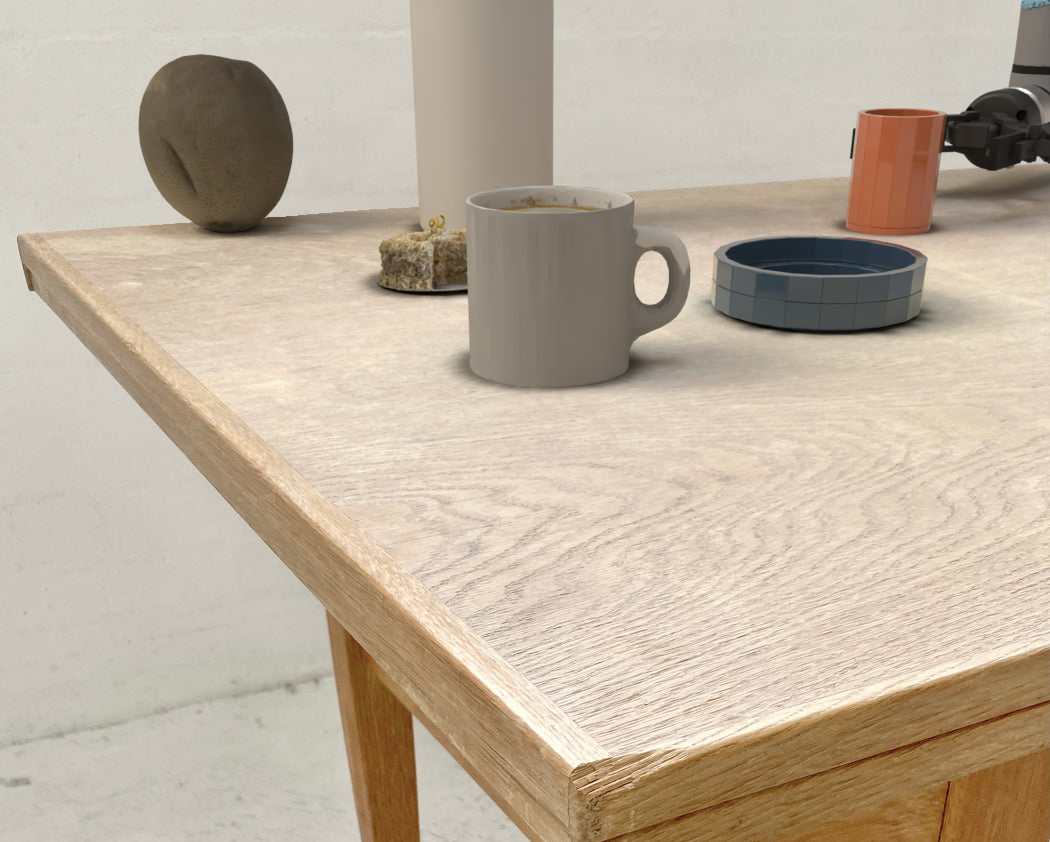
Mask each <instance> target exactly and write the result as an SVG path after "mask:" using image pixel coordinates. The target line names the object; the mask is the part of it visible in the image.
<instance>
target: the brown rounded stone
mask: <svg viewBox="0 0 1050 842" xmlns="http://www.w3.org/2000/svg"><path fill="white" fill-rule="evenodd" d="M293 134H294V133H293V127H292V123H291V119H290V115H289V111H288V108H287V105H286V102H285V101H284V99H283V96H282V94H281V93H280V91H279V90H278V88H277V86H276V85H275V83H274V82H273V81H272V80H271V78H270V77H269V76H268V75H267V74H266V73H265V72H264V71H263V70H262V69H261V68H260V67H259V66H257V65H256V64H254V63H253V62H251V61H249V60H244V59H243V60H242V59H234V58H229V57H225V56H221V55H220V56H219V55H213V54H204V53H198V54H189V55H182V56H179V57H177V58H175V59H173V60H171V61H169V62H167V63H165V64H164V65H163V66H161V67H160V68H158V70H157V71H156V72H155V73H154V74H153V76H152V77H151V78H150V80H149V82H148V84H147V86H146V88H145V90H144V93H143V95H142V98H141V101H140V105H139V111H138V139H139V146H140V150H141V155H142V158H143V161H144V164H145V166H146V170H147V171H148V173H149V177H150V178H151V180H152V182H153V184H154V186H155V187H156V189H157V190H158V192H159V193H160V195H161V197H162V198H163V199H164V200H165V202H167V203H168V205H170V206H171V207H172V209H174V210H175V211H176V212H177V213H179V214H180V215H181V216H183V217H184V218H186V219H187V220H189V221H190V222H192V223H193V224H195V225H197V226H198V227H201V228H204V229H206V230H208V231H212V232H215V233H217V232H218V233H238V232H245V231H247V230H251V229H252V228H254V227H255V226H257V225H259V223H261V222H262V221H263V220H265V219H266V218H267V217H268V215H269V214H270V213H271V212H272V211H273V210H274V209H275V208H276V206H277V205H278V204H279V202H280V201H281V199H282V197H283V196H284V193H285V190H286V187H287V186H288V185H287V184H288V182H289V178H290V173H291V170H292V165H293V160H294V159H293V158H294V135H293Z"/></svg>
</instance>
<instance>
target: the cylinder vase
mask: <svg viewBox="0 0 1050 842" xmlns="http://www.w3.org/2000/svg"><path fill="white" fill-rule="evenodd" d="M554 1H555V0H409V1H408V2H409V20H410V21H409V23H410V42H411V43H410V45H411V65H412V67H411V68H412V87H413V88H412V89H413V109H414V128H415V129H414V131H415V149H416V150H415V151H416V152H415V153H416V169H417V170H416V173H417V174H416V175H417V194H418V195H417V196H418V214H419V215H418V216H419V218H418V219H419V226H420V227H421V229H422V231H430V230H431V227H429V224H428V223H429V220H431V219H434V218H436V217H437V216H439V215H443V216H444V217H445V221H446V223H445V225H446V230H452V229H454V230H462V229H466V199H467V198H468V197H469V196H471V195H474V194H476V193H479V192H483V191H488V190H495V189H502V188H512V187H525V186H554V40H555V39H554V37H555V36H554V34H555V33H554V32H555V31H554V29H555V28H554V23H555V22H554V21H555V20H554V17H555V15H554V12H555V10H554V7H555V6H554V5H555V3H554ZM438 220H439V224H442V221H443V220H442V218H441V217H440V216H439V218H438ZM432 224H433V222H431V225H432Z"/></svg>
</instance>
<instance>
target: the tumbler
mask: <svg viewBox="0 0 1050 842" xmlns="http://www.w3.org/2000/svg"><path fill="white" fill-rule="evenodd" d="M947 115H948V113H947V112H945V111H944V110H943V111H942V110H935V109H927V108H911V107H883V108H882V107H881V108H868V109H861V110H859V111H857V113H856V122H855V128H856V131H855V140H854V149H853V158H852V159H851V166H850V167H851V168H850V177H849V186H848V195H847V203H846V212H845V228H846V229H847V230H851V231H853V232H858V233H862V234H871V235H881V236H882V235H884V236H909V235H918V234H923V233H928V232H929V231H930V229H931V224H932V222H933V216H934V215H933V214H934V207H935V201H936V194H937V187H938V180H939V174H940V165H941V158H942V153H943V152H942V146H943V139H944V131H945V124H946V117H947Z"/></svg>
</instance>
